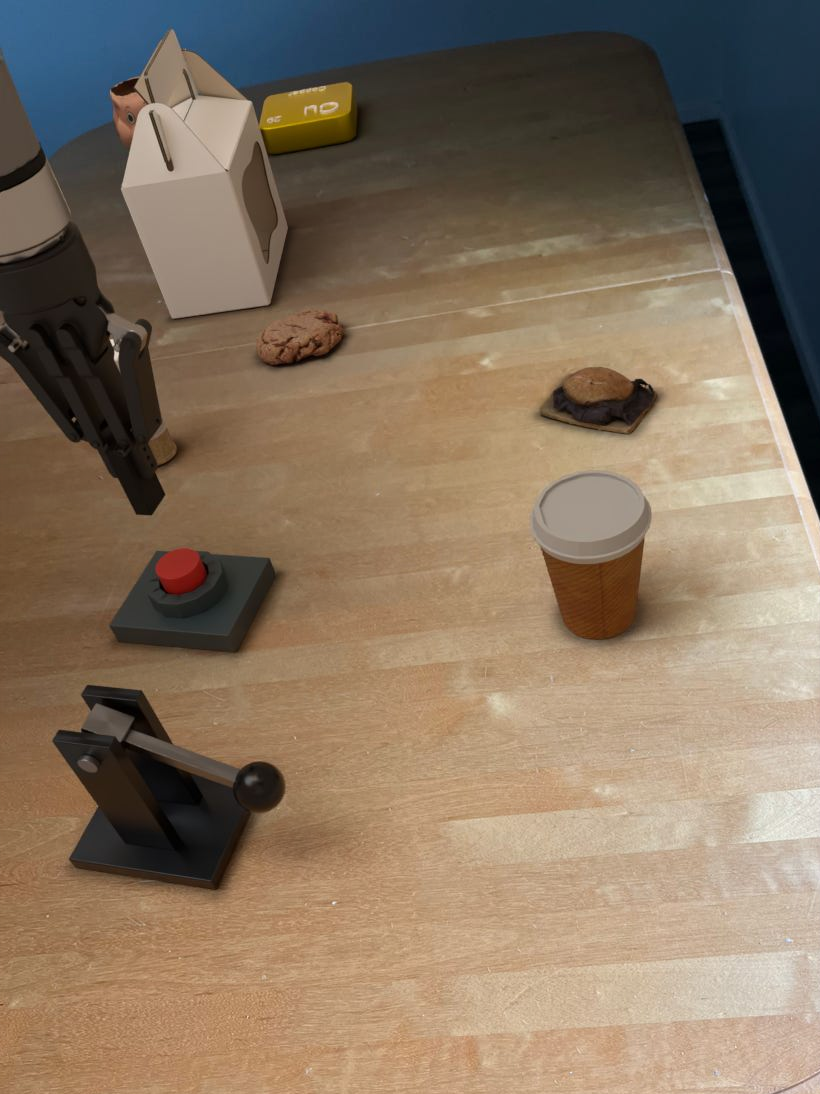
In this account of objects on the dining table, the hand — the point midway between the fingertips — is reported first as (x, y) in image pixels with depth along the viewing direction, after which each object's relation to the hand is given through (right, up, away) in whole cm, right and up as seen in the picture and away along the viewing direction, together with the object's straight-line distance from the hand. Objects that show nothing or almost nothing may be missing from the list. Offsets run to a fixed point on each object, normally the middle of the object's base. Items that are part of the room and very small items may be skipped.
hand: (150, 504), depth 89 cm
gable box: (-6, +39, +55) cm, 68 cm away
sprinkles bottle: (-8, +9, +27) cm, 30 cm away
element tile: (0, +73, +86) cm, 113 cm away
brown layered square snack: (+40, +13, +22) cm, 48 cm away
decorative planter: (-22, +65, +83) cm, 108 cm away
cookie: (+6, +24, +39) cm, 46 cm away
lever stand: (+4, -26, -8) cm, 27 cm away
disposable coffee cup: (+38, -9, +2) cm, 39 cm away
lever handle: (+7, -21, -14) cm, 26 cm away
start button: (+1, -6, +7) cm, 9 cm away
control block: (+2, -8, +9) cm, 13 cm away
